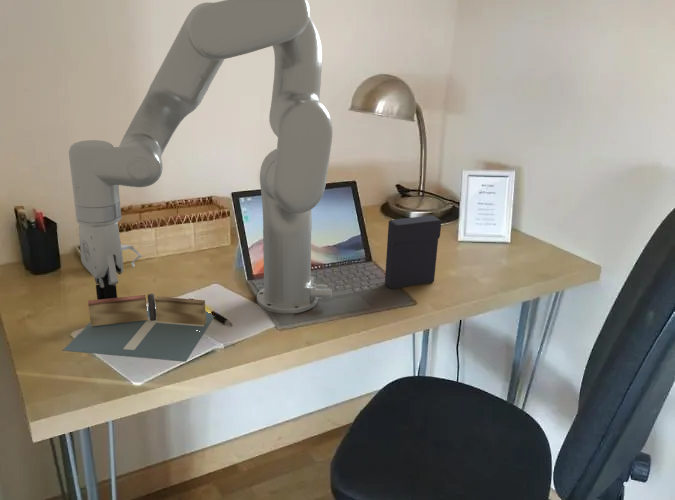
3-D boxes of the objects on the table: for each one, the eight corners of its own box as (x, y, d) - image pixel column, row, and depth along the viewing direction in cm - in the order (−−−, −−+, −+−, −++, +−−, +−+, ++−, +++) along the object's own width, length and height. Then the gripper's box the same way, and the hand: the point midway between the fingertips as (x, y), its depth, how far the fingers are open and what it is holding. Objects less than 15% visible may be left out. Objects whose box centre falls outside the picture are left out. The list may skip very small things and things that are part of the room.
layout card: (217, 313, 121) (217, 311, 121) (186, 363, 105) (185, 360, 105) (110, 305, 124) (109, 303, 123) (62, 352, 107) (62, 350, 107)
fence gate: (147, 316, 118) (145, 294, 116) (147, 319, 117) (145, 297, 115) (91, 323, 115) (88, 300, 113) (91, 326, 114) (88, 303, 112)
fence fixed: (206, 322, 117) (204, 297, 115) (204, 325, 116) (202, 300, 114) (151, 317, 118) (149, 293, 116) (148, 320, 117) (146, 296, 115)
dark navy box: (425, 275, 141) (431, 213, 135) (435, 283, 137) (441, 220, 132) (382, 282, 137) (386, 218, 131) (391, 290, 133) (396, 225, 128)
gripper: (64, 203, 113) (75, 293, 120) (90, 227, 102) (100, 325, 109) (105, 197, 117) (113, 284, 124) (134, 220, 107) (142, 314, 113)
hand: (107, 303), depth 117 cm, fingers closed
